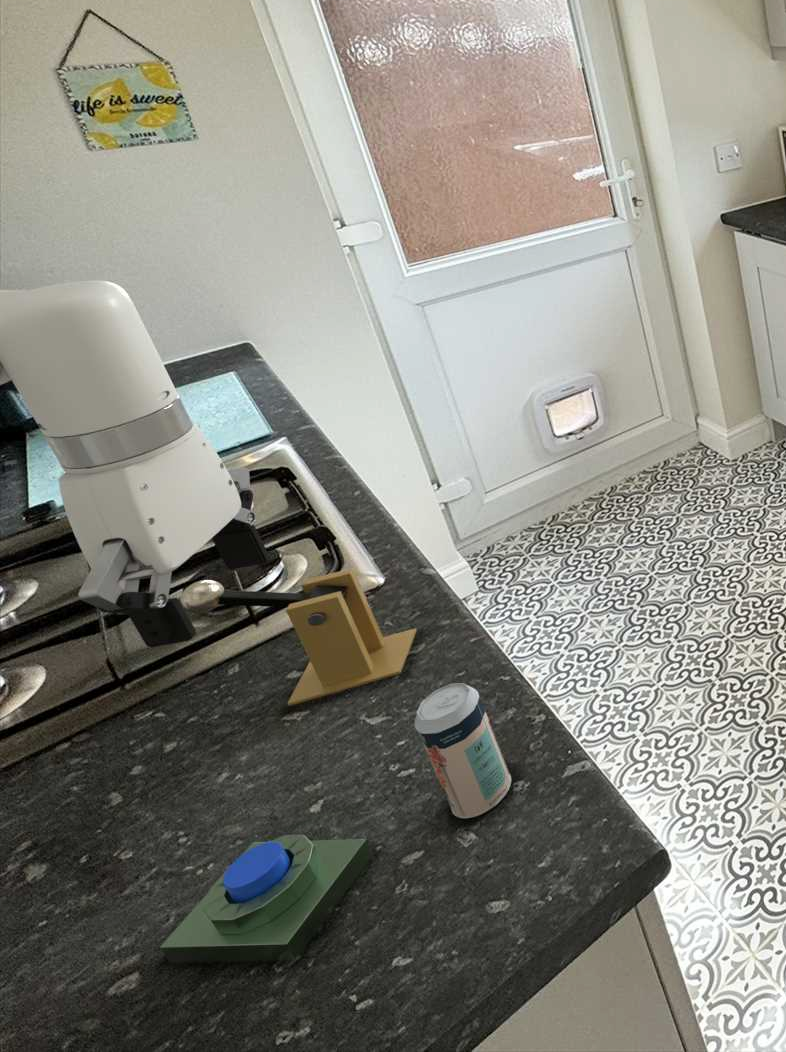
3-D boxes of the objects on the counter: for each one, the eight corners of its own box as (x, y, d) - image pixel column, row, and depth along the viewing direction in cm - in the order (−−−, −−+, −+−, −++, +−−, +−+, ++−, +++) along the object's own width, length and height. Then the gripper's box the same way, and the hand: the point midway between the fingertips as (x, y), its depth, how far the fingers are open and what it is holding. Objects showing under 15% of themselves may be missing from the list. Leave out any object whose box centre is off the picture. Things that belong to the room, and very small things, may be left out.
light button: (218, 903, 61) (209, 888, 60) (259, 856, 64) (251, 841, 64) (263, 902, 61) (254, 887, 60) (302, 854, 64) (294, 840, 64)
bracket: (291, 712, 82) (246, 625, 78) (315, 664, 88) (276, 581, 84) (403, 679, 86) (366, 594, 81) (419, 635, 92) (386, 554, 88)
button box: (171, 965, 60) (148, 932, 59) (262, 859, 68) (244, 827, 66) (297, 961, 60) (277, 929, 59) (375, 855, 68) (359, 824, 66)
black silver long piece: (170, 619, 77) (175, 592, 76) (187, 599, 80) (191, 572, 79) (334, 624, 83) (340, 599, 82) (345, 605, 86) (350, 580, 85)
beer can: (462, 782, 74) (422, 687, 69) (518, 766, 75) (482, 672, 71) (445, 829, 69) (401, 732, 65) (505, 812, 71) (466, 715, 66)
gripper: (151, 392, 70) (230, 547, 76) (-40, 504, 54) (80, 688, 60) (248, 379, 71) (318, 532, 77) (90, 485, 55) (193, 666, 62)
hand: (213, 600), depth 69 cm, fingers open, 9 cm apart
